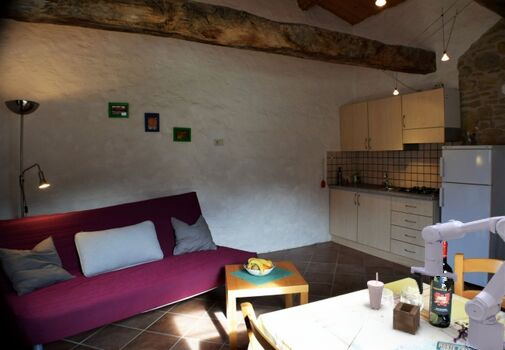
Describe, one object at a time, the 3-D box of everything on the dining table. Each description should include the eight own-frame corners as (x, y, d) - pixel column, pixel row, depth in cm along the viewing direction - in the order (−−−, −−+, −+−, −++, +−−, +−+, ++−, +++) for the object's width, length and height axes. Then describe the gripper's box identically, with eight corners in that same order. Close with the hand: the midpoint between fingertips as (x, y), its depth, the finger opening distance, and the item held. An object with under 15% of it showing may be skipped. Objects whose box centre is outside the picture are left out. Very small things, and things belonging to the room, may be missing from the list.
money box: (419, 325, 120) (420, 306, 120) (414, 334, 114) (414, 314, 113) (399, 319, 124) (399, 301, 124) (392, 328, 118) (393, 309, 118)
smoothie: (385, 311, 131) (385, 276, 131) (368, 309, 133) (368, 275, 132) (382, 303, 138) (382, 270, 137) (365, 302, 139) (366, 269, 138)
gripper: (458, 259, 118) (458, 297, 119) (414, 252, 127) (413, 287, 128) (456, 265, 112) (455, 304, 113) (409, 257, 121) (409, 294, 122)
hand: (433, 296), depth 120 cm, fingers open, 7 cm apart
